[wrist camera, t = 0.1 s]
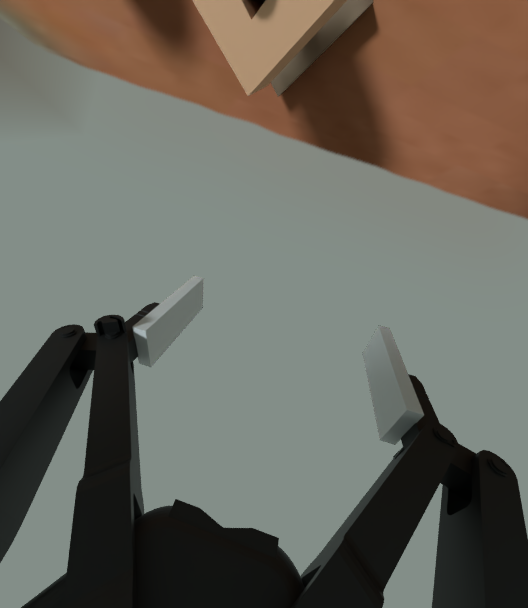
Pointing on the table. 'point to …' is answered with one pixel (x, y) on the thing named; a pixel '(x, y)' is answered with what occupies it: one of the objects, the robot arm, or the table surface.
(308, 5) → the collar
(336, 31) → the stand
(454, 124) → the table surface
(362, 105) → the table surface
